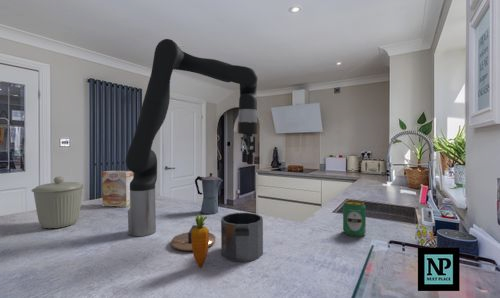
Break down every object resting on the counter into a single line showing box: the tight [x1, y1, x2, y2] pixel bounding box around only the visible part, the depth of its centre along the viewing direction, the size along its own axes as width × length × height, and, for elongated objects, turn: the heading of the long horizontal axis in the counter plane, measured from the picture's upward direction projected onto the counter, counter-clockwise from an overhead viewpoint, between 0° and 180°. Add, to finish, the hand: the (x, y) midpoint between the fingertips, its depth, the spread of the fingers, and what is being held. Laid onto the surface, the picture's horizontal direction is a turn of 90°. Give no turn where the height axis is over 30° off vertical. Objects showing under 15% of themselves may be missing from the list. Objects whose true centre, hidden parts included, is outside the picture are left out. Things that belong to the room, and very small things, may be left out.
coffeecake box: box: [101, 170, 134, 208], centre depth 144 cm, size 15×7×20 cm, turn 81°
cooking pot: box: [220, 212, 264, 263], centre depth 81 cm, size 13×17×11 cm
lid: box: [170, 224, 216, 252], centre depth 89 cm, size 15×15×5 cm
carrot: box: [191, 214, 210, 268], centre depth 72 cm, size 5×5×15 cm
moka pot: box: [194, 172, 224, 215], centre depth 129 cm, size 10×15×20 cm, turn 78°
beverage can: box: [342, 199, 367, 238], centre depth 98 cm, size 8×8×12 cm
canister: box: [31, 176, 85, 230], centre depth 110 cm, size 18×18×21 cm
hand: (247, 163), depth 100 cm, fingers open, 8 cm apart
